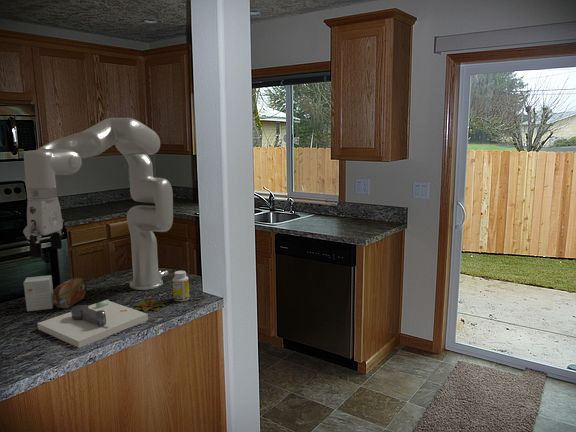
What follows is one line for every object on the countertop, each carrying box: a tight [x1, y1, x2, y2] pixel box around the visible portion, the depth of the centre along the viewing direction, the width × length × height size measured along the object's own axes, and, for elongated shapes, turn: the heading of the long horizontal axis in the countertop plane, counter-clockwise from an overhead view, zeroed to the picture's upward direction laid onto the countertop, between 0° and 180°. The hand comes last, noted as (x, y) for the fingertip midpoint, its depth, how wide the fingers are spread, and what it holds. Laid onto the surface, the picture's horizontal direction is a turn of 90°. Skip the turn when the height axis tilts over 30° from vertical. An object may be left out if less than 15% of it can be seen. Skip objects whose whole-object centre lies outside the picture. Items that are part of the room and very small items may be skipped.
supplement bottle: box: [172, 270, 190, 302], centre depth 169 cm, size 6×6×10 cm
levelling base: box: [37, 299, 149, 349], centre depth 148 cm, size 24×22×4 cm
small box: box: [23, 274, 55, 312], centre depth 162 cm, size 8×6×10 cm
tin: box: [53, 277, 87, 309], centre depth 166 cm, size 15×3×8 cm, turn 168°
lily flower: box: [133, 293, 166, 313], centre depth 163 cm, size 12×12×5 cm
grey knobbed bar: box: [70, 304, 106, 326], centre depth 146 cm, size 15×5×4 cm, turn 55°
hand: (46, 252), depth 137 cm, fingers open, 9 cm apart
